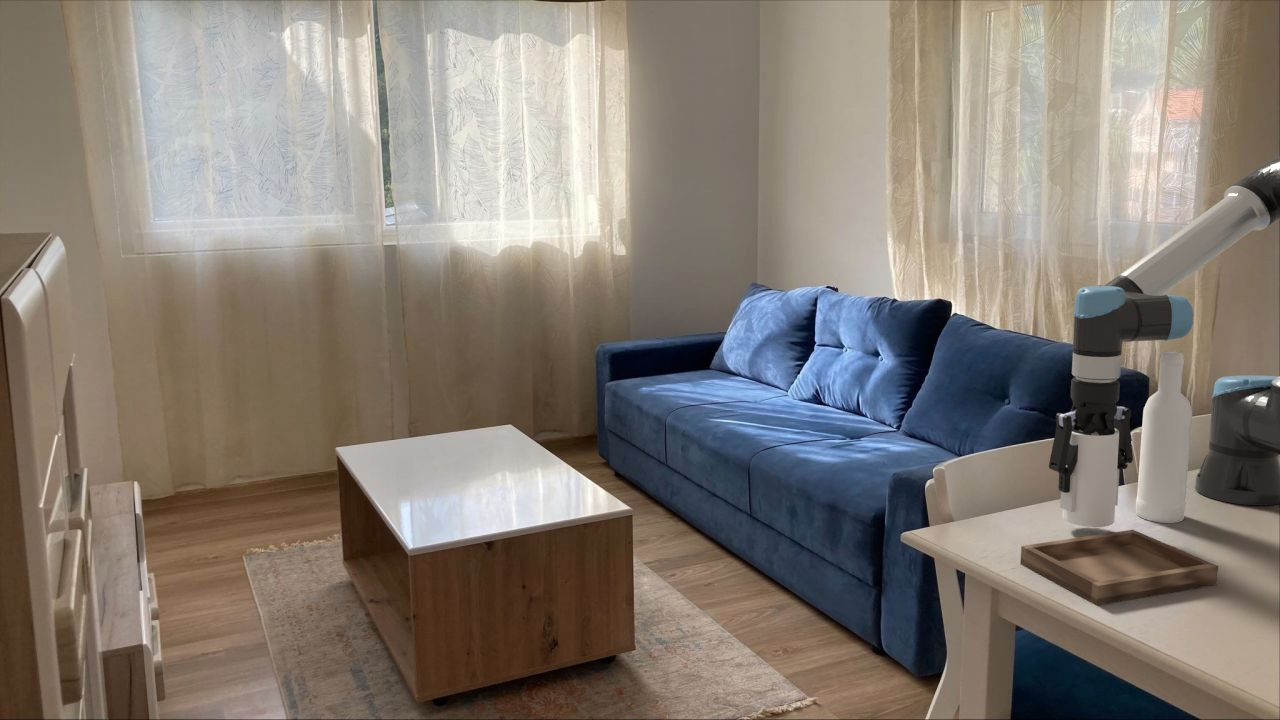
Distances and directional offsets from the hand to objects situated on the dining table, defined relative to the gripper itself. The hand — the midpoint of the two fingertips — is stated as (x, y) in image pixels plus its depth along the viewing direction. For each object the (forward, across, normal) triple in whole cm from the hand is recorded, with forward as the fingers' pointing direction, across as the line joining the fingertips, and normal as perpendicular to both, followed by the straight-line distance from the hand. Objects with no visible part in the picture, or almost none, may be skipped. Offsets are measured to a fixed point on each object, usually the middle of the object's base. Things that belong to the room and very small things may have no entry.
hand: (1088, 506), depth 176 cm
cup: (+2, 0, 0) cm, 2 cm away
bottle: (+5, -18, -2) cm, 18 cm away
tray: (+4, +9, +17) cm, 20 cm away
